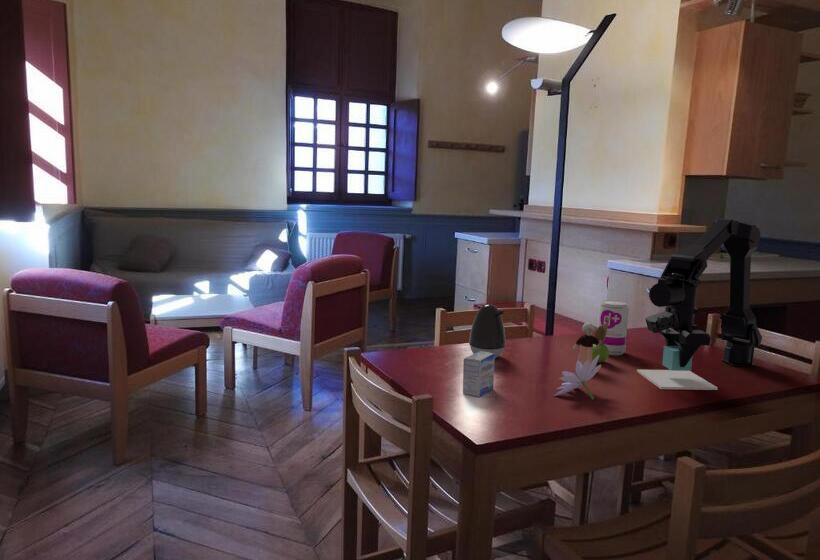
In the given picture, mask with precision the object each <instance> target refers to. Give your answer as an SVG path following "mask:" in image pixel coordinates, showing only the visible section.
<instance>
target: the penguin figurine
mask: <svg viewBox="0 0 820 560" xmlns="http://www.w3.org/2000/svg"><path fill="white" fill-rule="evenodd" d="M504 311H505V310H504V309H498V307H497V306H496V305H493V304H491V303H486V304H483V305H481V307H480V308H479V309H478V310H477V313H476V315H475V316H474V319H473V321H472V325H471V329H470V333H469V339H468V345H469V347H470V350H471V353H472V354H474V353H476V352H478V351H483V352H489V353H493V354H495V359H497V358H499V357H500V356H501V355H502V354H503V352H504V350H505V347H506V346H507V344H506V343H507V342H506V340H507V339H506V331H505V325H504V322H503V318H502V315H503V314H504V313H505V312H504Z"/></svg>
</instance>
